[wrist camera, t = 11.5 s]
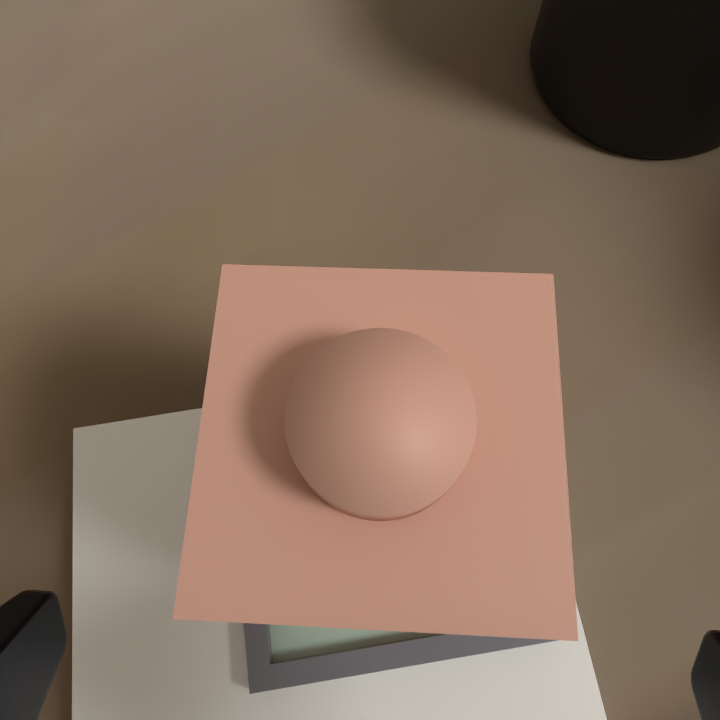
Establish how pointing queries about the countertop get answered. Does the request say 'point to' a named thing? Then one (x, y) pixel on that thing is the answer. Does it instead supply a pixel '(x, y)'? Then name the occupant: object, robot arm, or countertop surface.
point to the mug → (632, 73)
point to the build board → (261, 641)
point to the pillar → (382, 455)
